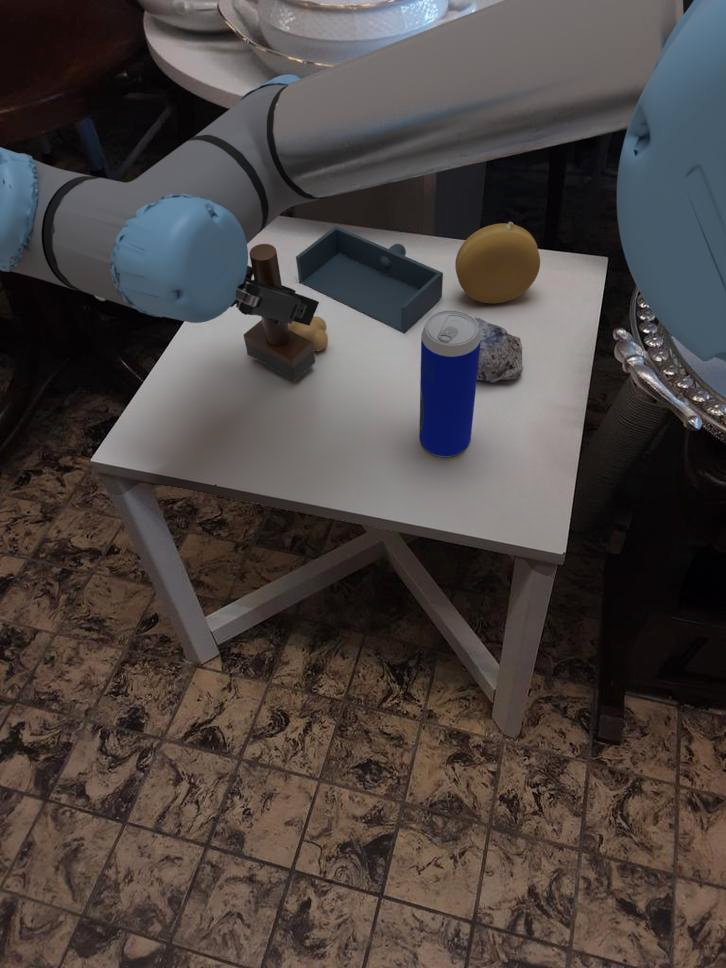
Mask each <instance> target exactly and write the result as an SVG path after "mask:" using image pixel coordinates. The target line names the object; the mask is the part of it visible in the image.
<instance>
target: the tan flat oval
mask: <svg viewBox="0 0 726 968" xmlns="http://www.w3.org/2000/svg"><path fill="white" fill-rule="evenodd" d="M454 267H455V273H456V277H457V279H458V283H459V285H460V288H461V290H463V292H464V293H465V294H466V295H467V296H468V297H470V298H471V299H473V300H475V301H477V302H479V303H483V304H500V303H505V302H509V301H512V300H514V299H516V298H518V297H520V296H521V295H523V294H524V293H525V292H526V291H527V290H528V289H530V287H531V286H532V285H533V283H534V282H535V281H536V279H537V277H538V275H539V272H540V269H541V255H540V252H539V248H538V244H537V242H536V240H535V238H534V237H533V235H532V234H531V233H530V232H529V231H528V230H526V229H525V228H524V227H522V226H519V225H517V224H514V222H512V221H508V223H505V222H504V223H494V224H491V225H487V226H485V227H484V226H483V227H482V228H480V229H478V230H476V231H475V232H473V233H472V234H471V235H469V236H468V237H467V238H466V239H465V240H464V242H463V243H462V244H461V246H460V248H459V249H458V251H457V253H456V257H455V266H454Z"/></svg>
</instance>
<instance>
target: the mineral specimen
mask: <svg viewBox="0 0 726 968" xmlns="http://www.w3.org/2000/svg"><path fill="white" fill-rule="evenodd" d="M472 317H473V316H472ZM473 318H474V319H475V320H476V322H477V323H478V326H479V330H480V333H481V343H480V353H479V362H478V372H477V381H478V380H479V381H485V382H488V383H489V382H490V383H491V384H495V383H496V382H499V381H501V380H504V381H505V380H506V381H507V380H508V381H509V380H514V379H519V378H520V377H521V376H522V372H523V370H524V368H523V348H524V347H523V345H522V340H521V337H519V336H515V335H512V334H510V333H508V331H507V330H506V329H505V327H502V326H499V325H497V324H493V323H490V322H488V321H485V320H484V319H482V318H480V317H477V316H476V317H473Z"/></svg>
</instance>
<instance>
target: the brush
mask: <svg viewBox="0 0 726 968" xmlns="http://www.w3.org/2000/svg"><path fill="white" fill-rule="evenodd" d="M248 255H249V259H250V264H251V267H252V270H253V280H254V281H257V282H260V283H262V284H265V285H268V286H271V287H273V288H276V289H279V288H282V285H283V283H282V277H281V271H280V265H279V264H280V263H279V259H278V252H277V249H276V247H275V246H274V245H273V244H270V243H259V244H257V245H254V246H253V247H252V248H251V249H250V250H249V252H248ZM260 317H261V319H260V320H259V321H258V322H256V323H255V324H254V325H253V326H252V327H250V329H248V330H247V331H246V332H245V333H243V334H242V335H243V340H244V343H245V349H246V353H247V356H249V357H251V358H252V359H254V360H256V361H258V362H260V363H262V364H263V365H265V366H267V367H269V368H271V369H272V370H274V371H276V372H278V373H280V374H282V375H283V376H285V377H287V378H289V379H291V380H292V381H294V382H296V380H297V379H298V380H299V378H300V377H301V376H302V375H303V374H304V373H306V372H308V371H307V370H309V369H310V368H312V367H313V366H314V364H316V355H315V350H314V346H313V342H312V341H310V340H308V339H306V338H304V337H302V336H300V335H298V334H296V333H294V332H292V331H290V330H289V328H288V324H287V323H285V322H282V321H280V323H279V325H277V324H275V323H273V322H271V321H269V319H270V318H266V317H262V316H260Z"/></svg>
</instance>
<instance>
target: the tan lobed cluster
mask: <svg viewBox="0 0 726 968" xmlns="http://www.w3.org/2000/svg"><path fill="white" fill-rule="evenodd" d="M288 328H289V330H290V331H292V332H294V333H296V334H298V335H300V336H302V337H304V338H306V339H308V340H310V341H312V342H313V346H314V351H315V352H317V351H319V352H320V351H322V350H324V349H325V348H326V347H327V345H328V343H329V337H328V334H327V332H326V331H327V323H326V321H325V320H324V319H323V318H322V317H321V316H316V315H314V316H313V319H312V321H311V323H310V326H308V325H305V324H301V323H298V322H294V321H293V322H292V324H289V323H288Z"/></svg>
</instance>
